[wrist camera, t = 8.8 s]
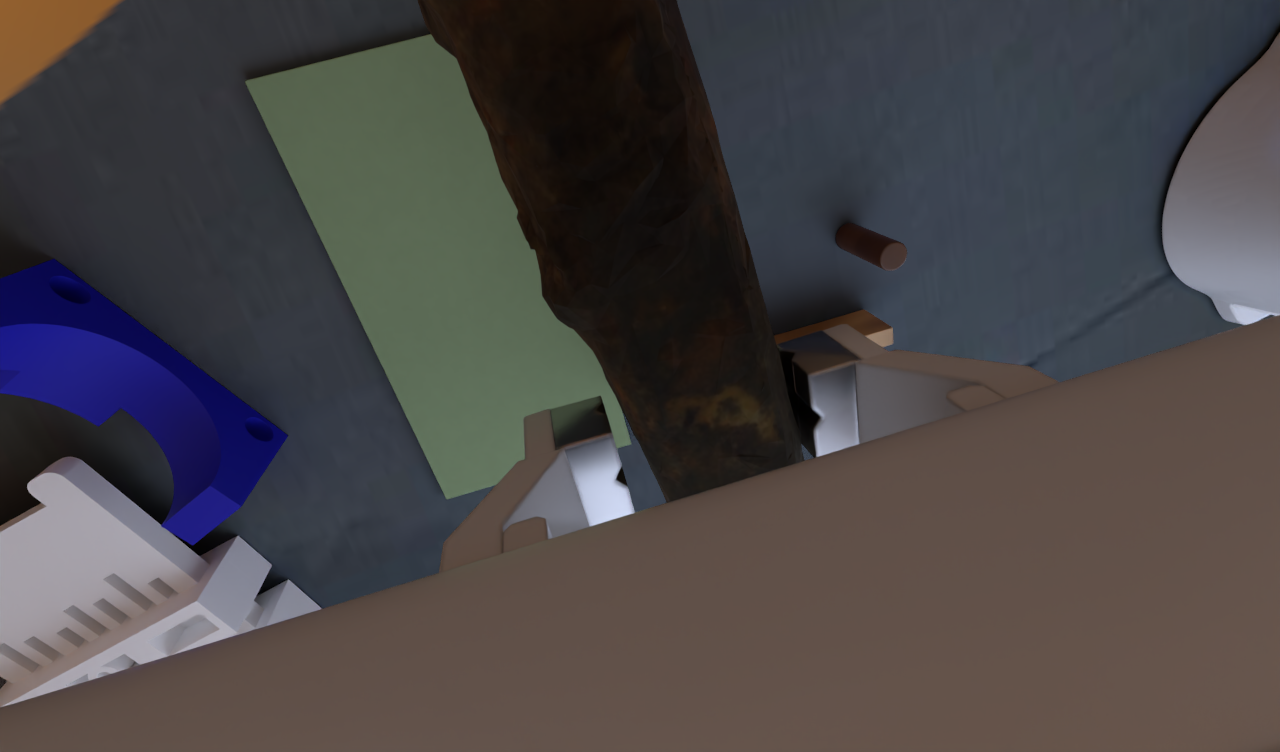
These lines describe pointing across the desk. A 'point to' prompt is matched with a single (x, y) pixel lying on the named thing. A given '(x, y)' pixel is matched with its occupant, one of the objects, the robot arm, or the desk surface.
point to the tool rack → (876, 252)
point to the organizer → (115, 587)
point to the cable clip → (133, 390)
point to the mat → (430, 252)
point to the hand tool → (632, 222)
